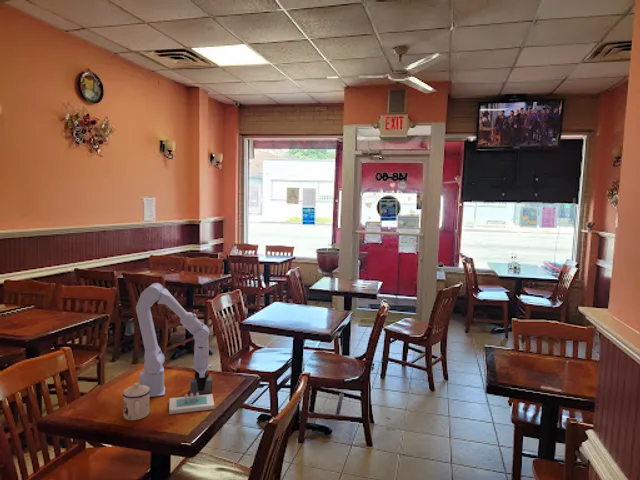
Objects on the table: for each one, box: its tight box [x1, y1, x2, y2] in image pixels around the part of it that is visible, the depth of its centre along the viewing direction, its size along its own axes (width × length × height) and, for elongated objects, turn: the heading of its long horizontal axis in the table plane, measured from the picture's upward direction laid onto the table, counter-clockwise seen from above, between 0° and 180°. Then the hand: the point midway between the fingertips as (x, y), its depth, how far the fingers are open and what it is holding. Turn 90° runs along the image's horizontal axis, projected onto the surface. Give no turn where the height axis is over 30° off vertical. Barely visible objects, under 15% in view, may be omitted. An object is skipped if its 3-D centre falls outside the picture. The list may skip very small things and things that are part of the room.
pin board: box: [168, 393, 215, 415], centre depth 162 cm, size 16×10×5 cm, turn 108°
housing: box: [189, 376, 213, 395], centre depth 175 cm, size 9×4×5 cm, turn 108°
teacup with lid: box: [122, 382, 150, 421], centre depth 152 cm, size 12×9×12 cm
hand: (201, 387), depth 175 cm, fingers closed on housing, 4 cm apart
